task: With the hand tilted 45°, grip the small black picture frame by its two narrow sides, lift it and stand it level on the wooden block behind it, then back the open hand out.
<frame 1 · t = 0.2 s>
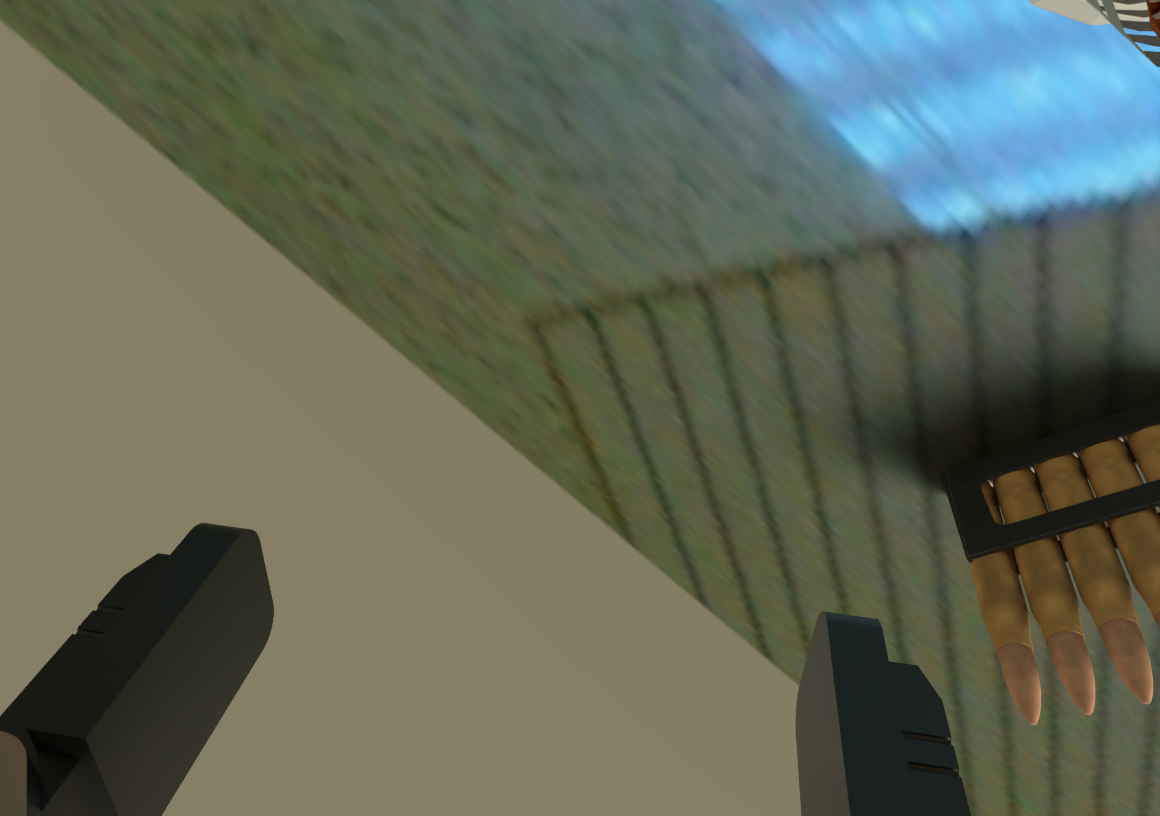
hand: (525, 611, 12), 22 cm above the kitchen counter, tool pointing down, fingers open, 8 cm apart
ammunition clip: (1073, 441, 36), on the kitchen counter
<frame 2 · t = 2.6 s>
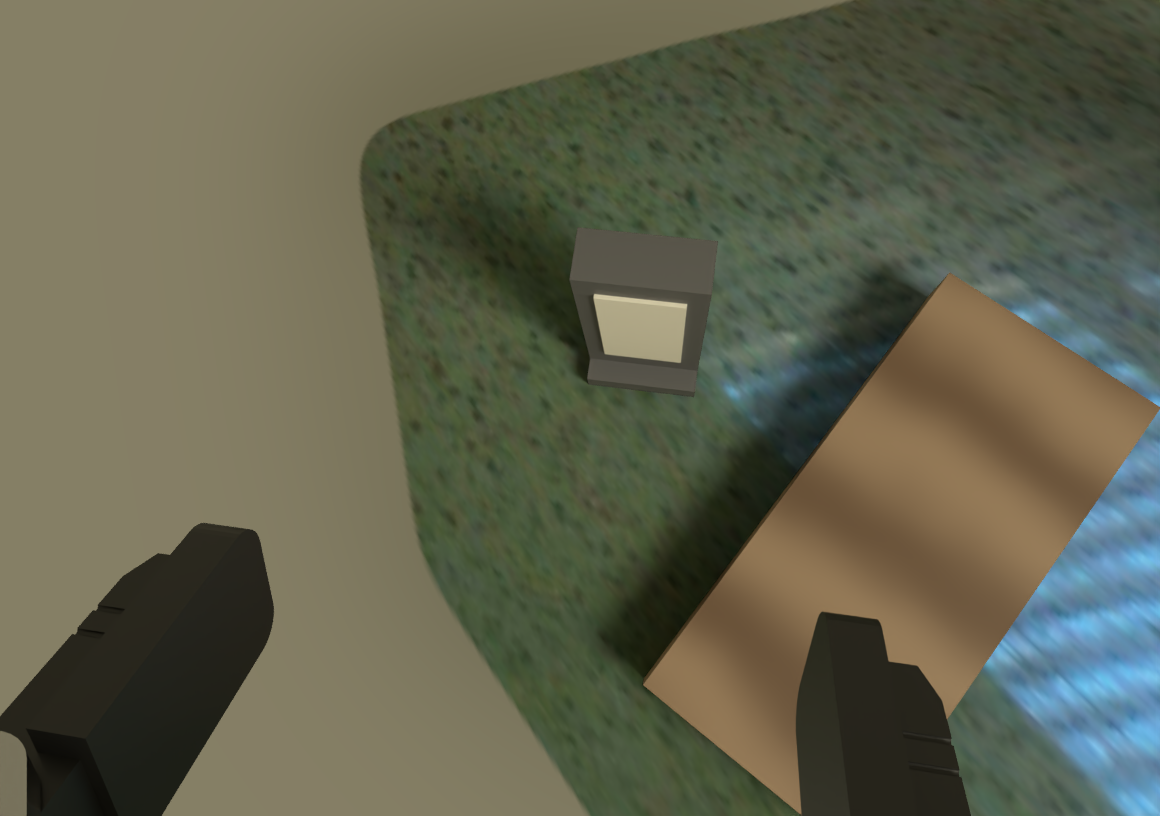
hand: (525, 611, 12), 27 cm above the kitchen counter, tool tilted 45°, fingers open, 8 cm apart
picture frame: (646, 350, 41), on the kitchen counter
wooden block: (885, 549, 38), on the kitchen counter
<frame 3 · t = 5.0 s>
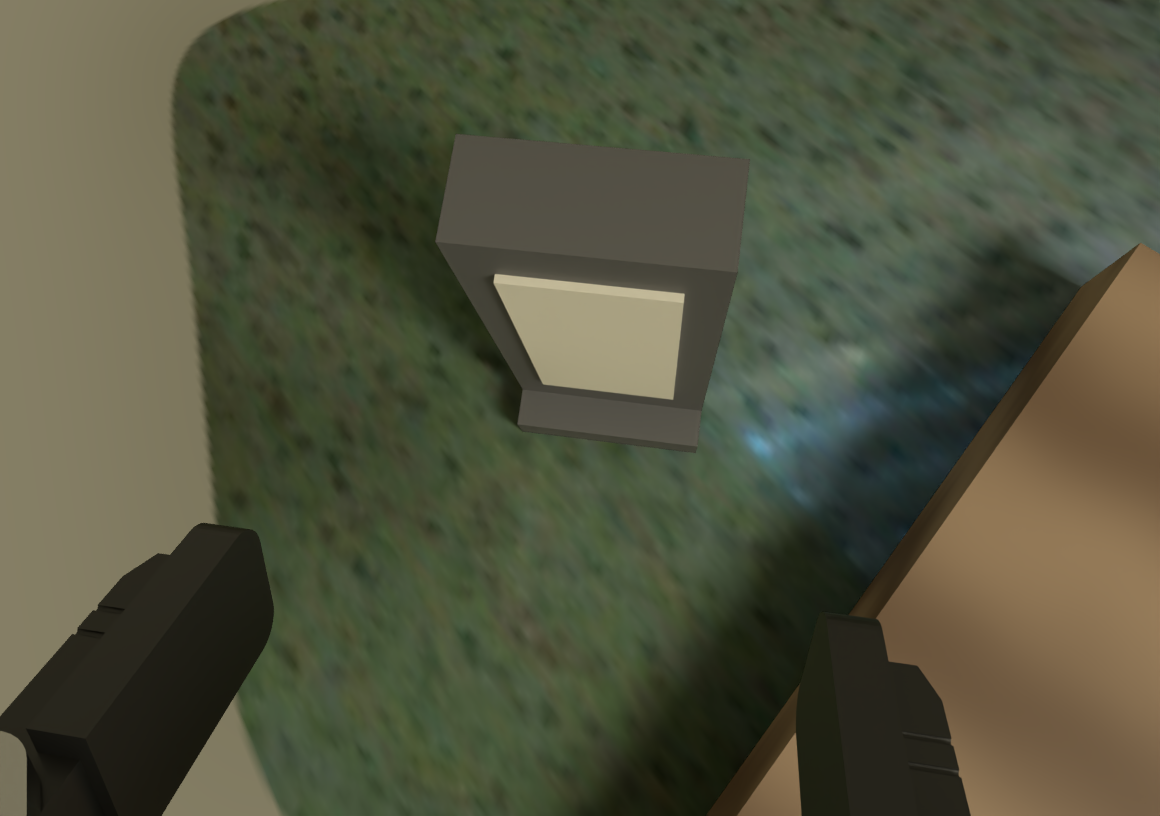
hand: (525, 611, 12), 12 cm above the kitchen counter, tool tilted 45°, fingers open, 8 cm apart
picture frame: (617, 375, 25), on the kitchen counter
wooden block: (1026, 721, 22), on the kitchen counter
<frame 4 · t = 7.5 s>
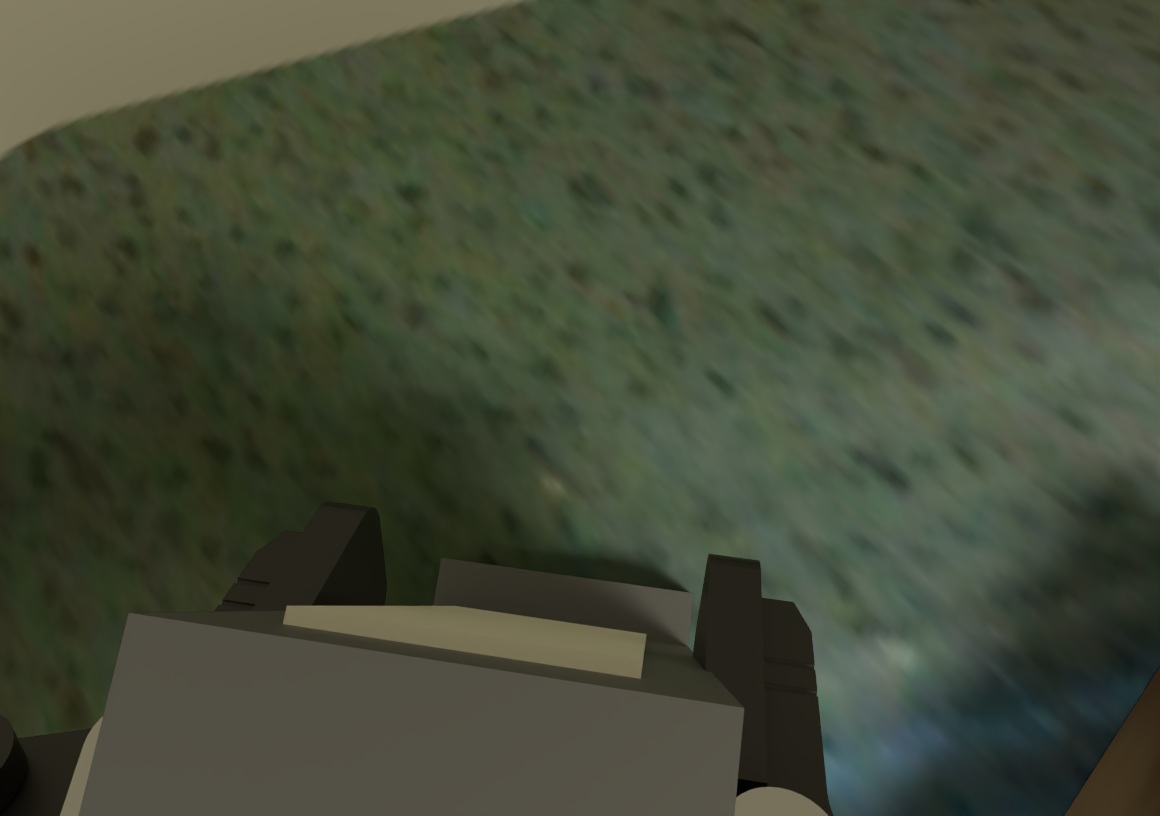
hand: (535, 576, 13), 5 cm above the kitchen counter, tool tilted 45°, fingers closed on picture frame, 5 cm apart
picture frame: (556, 676, 17), on the kitchen counter, touching gripper
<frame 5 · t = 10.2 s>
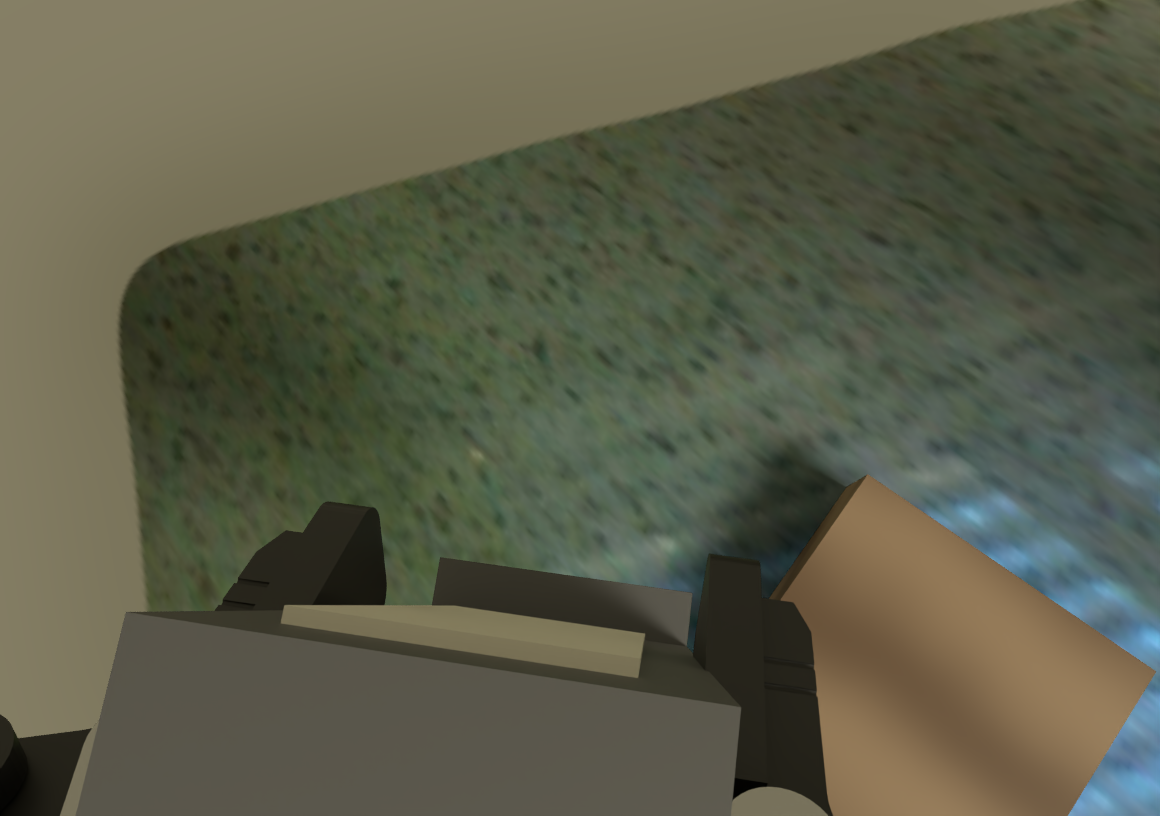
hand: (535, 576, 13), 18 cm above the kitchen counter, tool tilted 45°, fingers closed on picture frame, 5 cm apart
picture frame: (555, 676, 17), point 13 cm above the kitchen counter, touching gripper
when the fingers open (9 cm above the kitchen counter, at t = 12.8 s): picture frame stays where it is, resting on wooden block.
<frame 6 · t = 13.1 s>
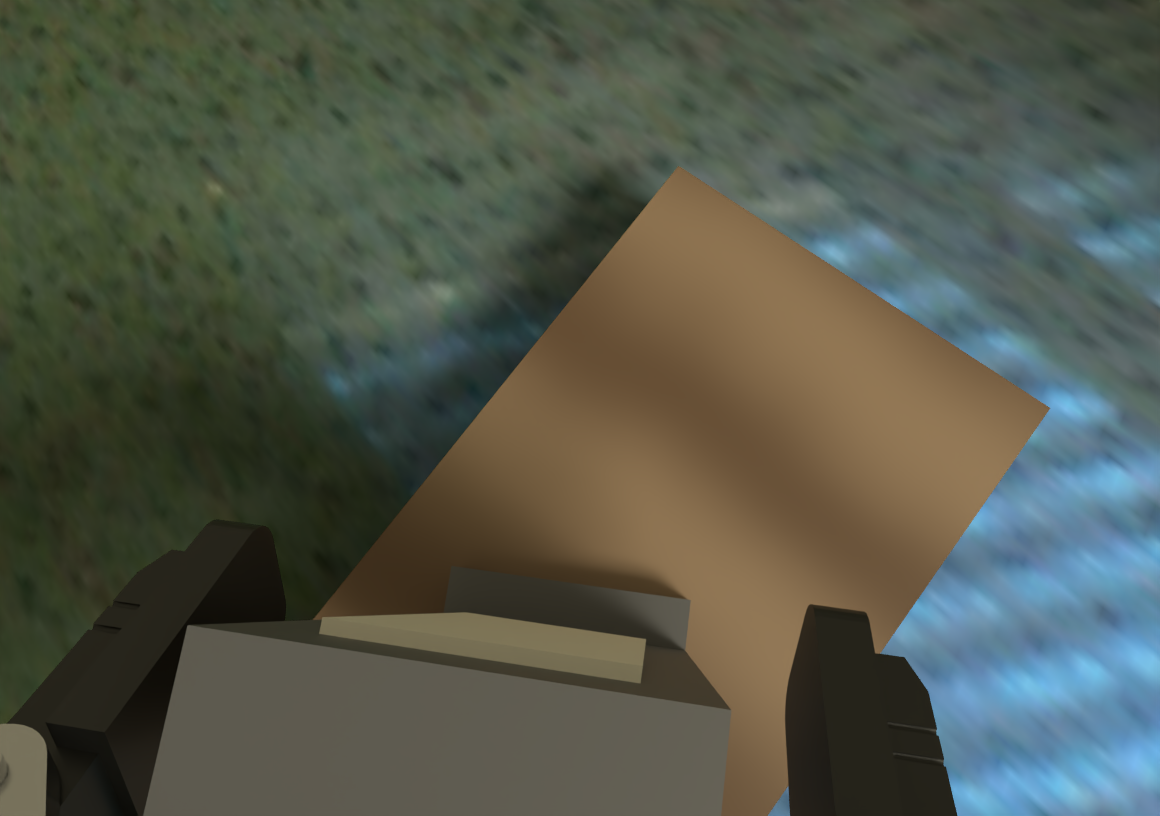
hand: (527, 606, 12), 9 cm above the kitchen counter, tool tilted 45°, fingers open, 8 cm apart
picture frame: (560, 679, 18), point 3 cm above the kitchen counter, touching wooden block
wooden block: (572, 664, 21), on the kitchen counter
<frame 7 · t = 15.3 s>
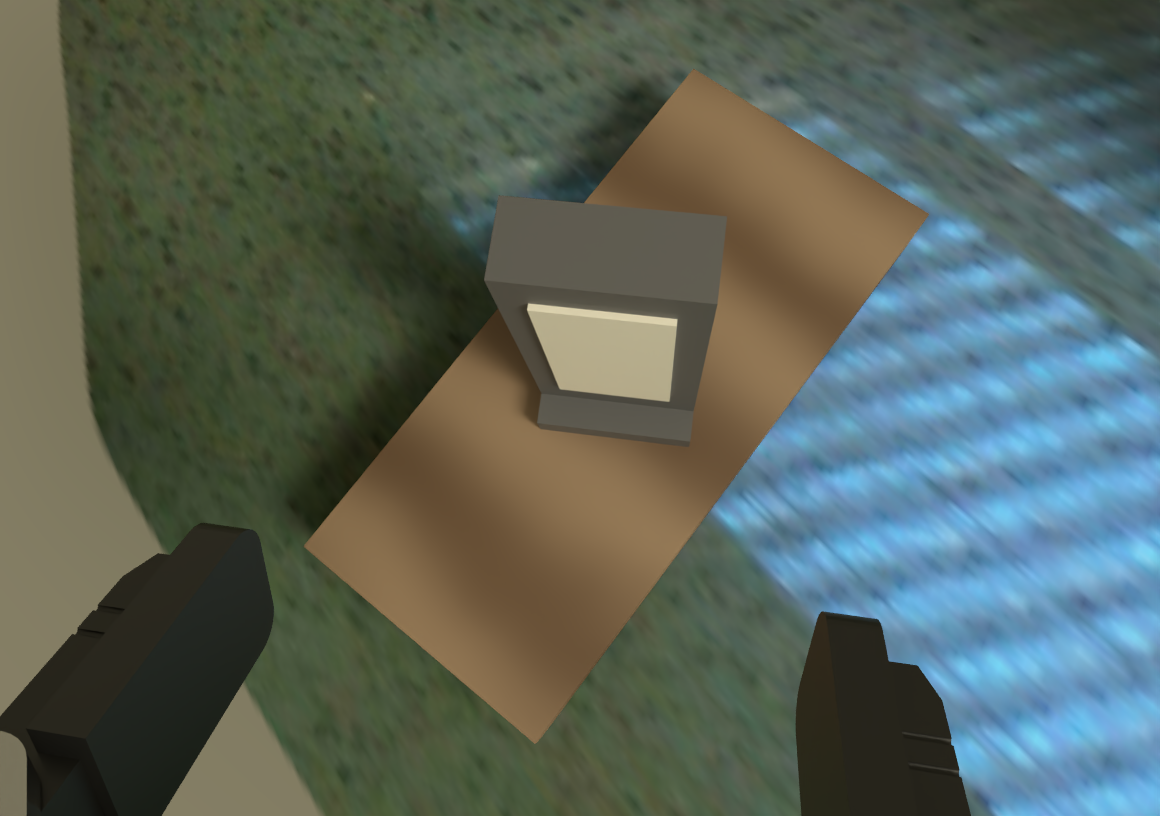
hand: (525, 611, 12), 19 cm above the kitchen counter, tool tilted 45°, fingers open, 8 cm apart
picture frame: (621, 380, 29), point 3 cm above the kitchen counter, touching wooden block
wooden block: (623, 398, 32), on the kitchen counter
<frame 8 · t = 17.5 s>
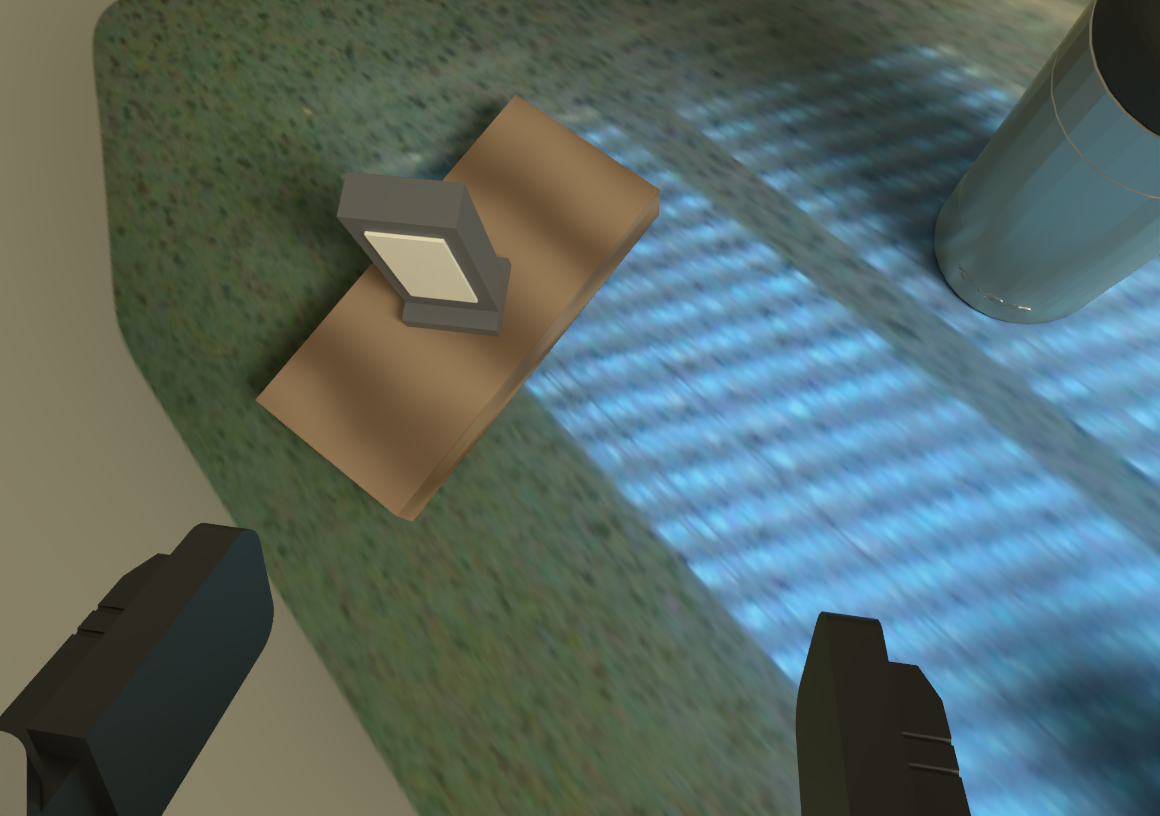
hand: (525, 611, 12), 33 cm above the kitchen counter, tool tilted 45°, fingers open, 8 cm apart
picture frame: (459, 295, 45), point 3 cm above the kitchen counter, touching wooden block
wooden block: (470, 312, 48), on the kitchen counter
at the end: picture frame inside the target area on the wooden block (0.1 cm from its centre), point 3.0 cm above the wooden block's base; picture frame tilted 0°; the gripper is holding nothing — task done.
